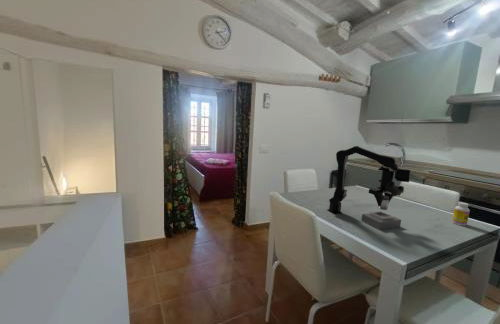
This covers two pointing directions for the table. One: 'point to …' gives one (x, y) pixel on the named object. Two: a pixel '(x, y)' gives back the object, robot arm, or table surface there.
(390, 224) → the grey flat block
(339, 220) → the table surface
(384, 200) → the lens
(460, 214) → the supplement bottle
